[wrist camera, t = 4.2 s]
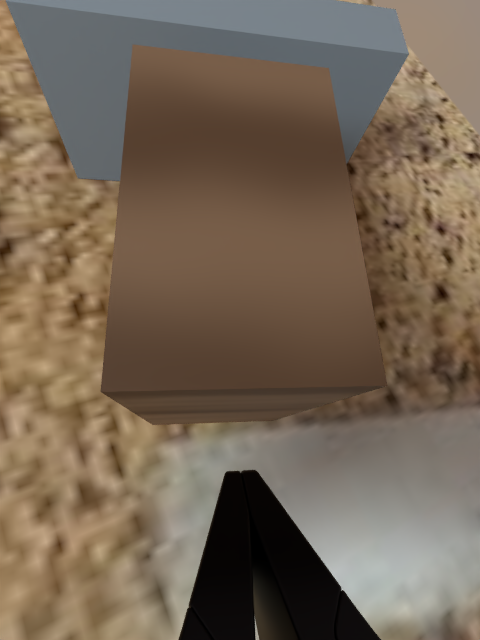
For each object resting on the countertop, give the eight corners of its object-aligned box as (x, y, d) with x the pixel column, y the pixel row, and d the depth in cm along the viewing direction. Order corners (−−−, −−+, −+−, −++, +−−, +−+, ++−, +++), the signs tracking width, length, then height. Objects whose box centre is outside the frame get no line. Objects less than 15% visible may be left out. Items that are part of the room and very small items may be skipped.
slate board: (329, 194, 23) (408, 54, 15) (78, 178, 21) (6, 0, 13) (324, 159, 24) (395, 9, 16) (83, 140, 22) (19, -48, 14)
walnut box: (272, 420, 18) (387, 386, 8) (152, 424, 17) (100, 391, 7) (260, 250, 21) (328, 68, 11) (160, 246, 20) (132, 44, 10)
